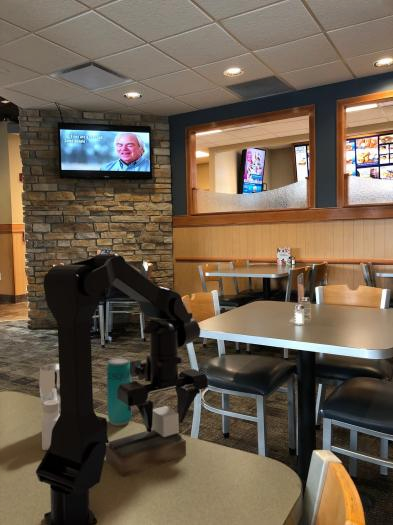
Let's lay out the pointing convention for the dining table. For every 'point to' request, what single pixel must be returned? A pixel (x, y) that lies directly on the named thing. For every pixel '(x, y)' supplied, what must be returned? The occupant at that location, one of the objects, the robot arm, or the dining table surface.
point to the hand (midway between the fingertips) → (164, 427)
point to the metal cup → (50, 383)
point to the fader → (165, 421)
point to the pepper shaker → (49, 421)
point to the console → (143, 451)
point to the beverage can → (115, 376)
